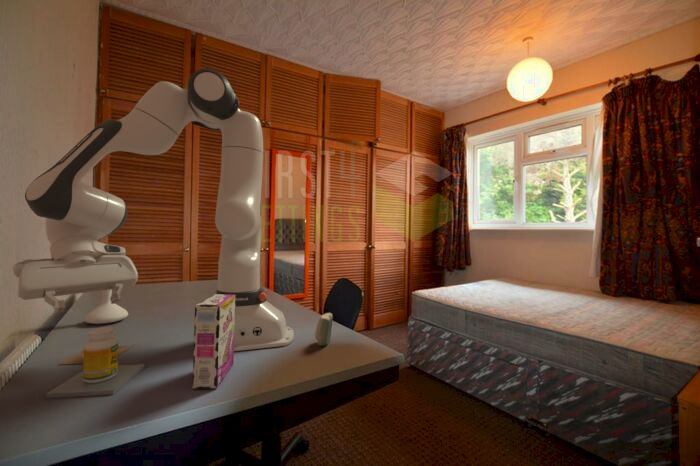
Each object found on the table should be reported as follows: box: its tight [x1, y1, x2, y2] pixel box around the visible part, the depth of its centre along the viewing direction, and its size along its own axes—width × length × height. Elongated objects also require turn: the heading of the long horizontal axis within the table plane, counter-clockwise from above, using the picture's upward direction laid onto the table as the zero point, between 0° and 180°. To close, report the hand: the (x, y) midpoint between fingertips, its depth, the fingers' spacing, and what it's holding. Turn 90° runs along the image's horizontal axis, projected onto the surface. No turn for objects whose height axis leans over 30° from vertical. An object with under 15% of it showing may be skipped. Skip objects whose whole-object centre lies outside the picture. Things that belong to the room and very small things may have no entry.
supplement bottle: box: [82, 326, 119, 383], centre depth 61 cm, size 5×5×10 cm
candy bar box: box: [192, 293, 236, 390], centre depth 64 cm, size 11×5×16 cm, turn 5°
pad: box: [45, 363, 146, 399], centre depth 61 cm, size 11×11×1 cm
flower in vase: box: [83, 289, 129, 325], centre depth 99 cm, size 13×11×25 cm
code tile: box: [58, 345, 133, 366], centre depth 74 cm, size 10×10×1 cm
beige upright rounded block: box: [314, 312, 334, 348], centre depth 83 cm, size 6×5×8 cm
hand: (89, 305), depth 66 cm, fingers open, 8 cm apart
